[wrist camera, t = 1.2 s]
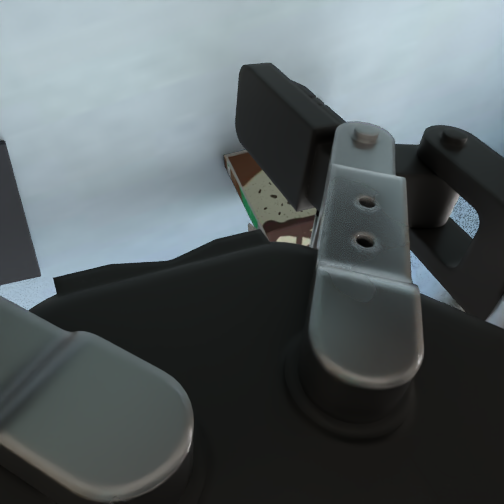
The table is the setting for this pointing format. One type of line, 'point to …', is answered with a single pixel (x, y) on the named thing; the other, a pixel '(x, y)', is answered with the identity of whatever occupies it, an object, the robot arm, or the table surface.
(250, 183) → the food container
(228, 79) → the table surface
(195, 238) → the table surface
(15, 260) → the mat
